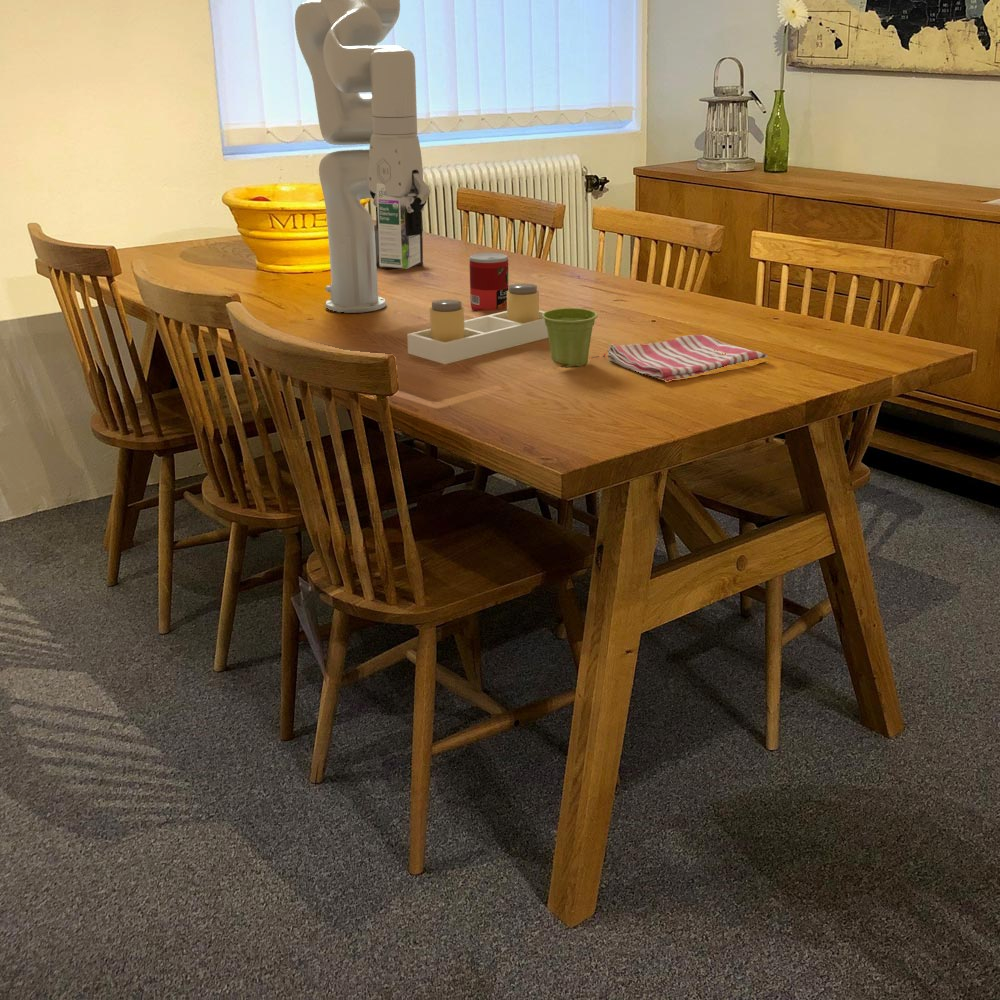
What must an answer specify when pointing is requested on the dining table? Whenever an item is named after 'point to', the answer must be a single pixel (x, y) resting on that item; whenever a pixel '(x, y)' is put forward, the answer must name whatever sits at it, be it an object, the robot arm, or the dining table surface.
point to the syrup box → (395, 232)
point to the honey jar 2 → (522, 303)
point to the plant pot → (569, 334)
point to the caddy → (477, 338)
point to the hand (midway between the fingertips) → (399, 231)
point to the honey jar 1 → (447, 320)
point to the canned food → (488, 281)
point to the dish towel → (680, 356)
